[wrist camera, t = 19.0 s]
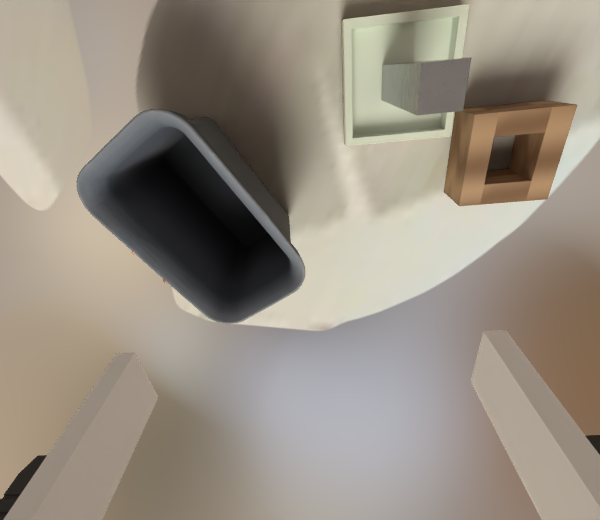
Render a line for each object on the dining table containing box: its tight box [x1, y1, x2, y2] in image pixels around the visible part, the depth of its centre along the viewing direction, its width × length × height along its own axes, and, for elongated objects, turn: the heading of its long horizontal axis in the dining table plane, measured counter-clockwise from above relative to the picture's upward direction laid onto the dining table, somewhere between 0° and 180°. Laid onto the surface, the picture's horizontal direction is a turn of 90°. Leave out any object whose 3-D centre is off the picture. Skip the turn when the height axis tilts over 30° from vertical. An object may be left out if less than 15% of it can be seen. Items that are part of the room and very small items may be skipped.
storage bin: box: [77, 109, 305, 324], centre depth 37 cm, size 21×16×14 cm
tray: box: [341, 4, 469, 146], centre depth 35 cm, size 12×12×2 cm
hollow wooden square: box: [444, 101, 577, 206], centre depth 37 cm, size 10×10×5 cm
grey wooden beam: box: [381, 58, 471, 116], centre depth 29 cm, size 3×3×14 cm
